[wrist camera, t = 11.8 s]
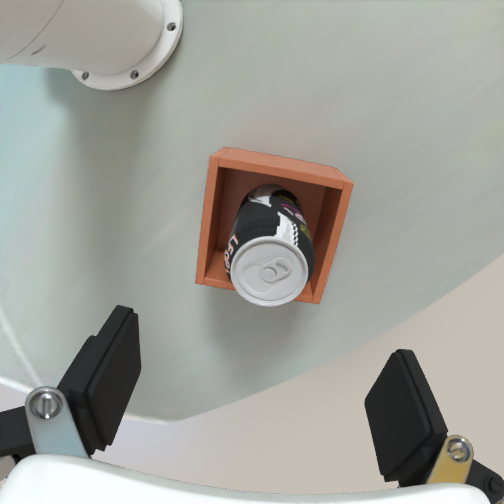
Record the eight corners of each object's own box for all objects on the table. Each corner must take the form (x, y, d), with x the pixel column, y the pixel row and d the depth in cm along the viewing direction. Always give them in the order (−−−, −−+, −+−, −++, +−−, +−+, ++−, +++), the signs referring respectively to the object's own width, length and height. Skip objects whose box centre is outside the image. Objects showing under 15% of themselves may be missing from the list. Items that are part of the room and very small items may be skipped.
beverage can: (313, 221, 29) (336, 286, 18) (262, 252, 31) (256, 329, 20) (279, 170, 28) (283, 208, 17) (227, 205, 29) (199, 262, 18)
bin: (209, 250, 32) (195, 283, 26) (223, 146, 28) (209, 155, 22) (311, 268, 32) (319, 304, 26) (336, 168, 28) (353, 183, 22)
